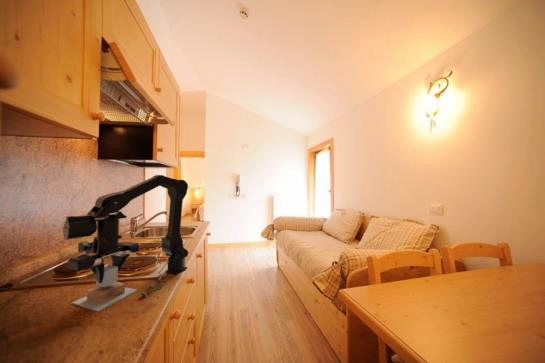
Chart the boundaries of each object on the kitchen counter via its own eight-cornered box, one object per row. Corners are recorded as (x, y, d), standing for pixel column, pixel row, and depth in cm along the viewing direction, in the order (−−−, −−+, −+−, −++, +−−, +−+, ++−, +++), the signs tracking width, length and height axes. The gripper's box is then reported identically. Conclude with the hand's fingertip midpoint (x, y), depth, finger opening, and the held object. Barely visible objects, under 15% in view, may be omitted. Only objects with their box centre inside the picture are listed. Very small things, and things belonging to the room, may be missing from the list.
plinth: (110, 288, 71) (110, 280, 71) (124, 292, 68) (125, 283, 69) (87, 299, 64) (87, 290, 64) (101, 304, 62) (102, 294, 62)
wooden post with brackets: (166, 283, 75) (162, 274, 73) (148, 302, 68) (144, 293, 66) (163, 282, 75) (159, 273, 73) (145, 301, 68) (140, 292, 66)
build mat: (113, 285, 74) (113, 284, 74) (137, 291, 70) (137, 290, 70) (72, 303, 62) (72, 302, 62) (98, 311, 59) (98, 310, 59)
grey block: (109, 279, 69) (109, 264, 69) (117, 281, 68) (117, 266, 68) (96, 285, 65) (96, 269, 65) (104, 287, 64) (104, 271, 64)
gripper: (120, 225, 78) (119, 265, 78) (55, 237, 60) (54, 289, 60) (141, 228, 74) (140, 270, 74) (79, 241, 57) (78, 296, 57)
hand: (107, 280), depth 66 cm, fingers closed on grey block, 4 cm apart
